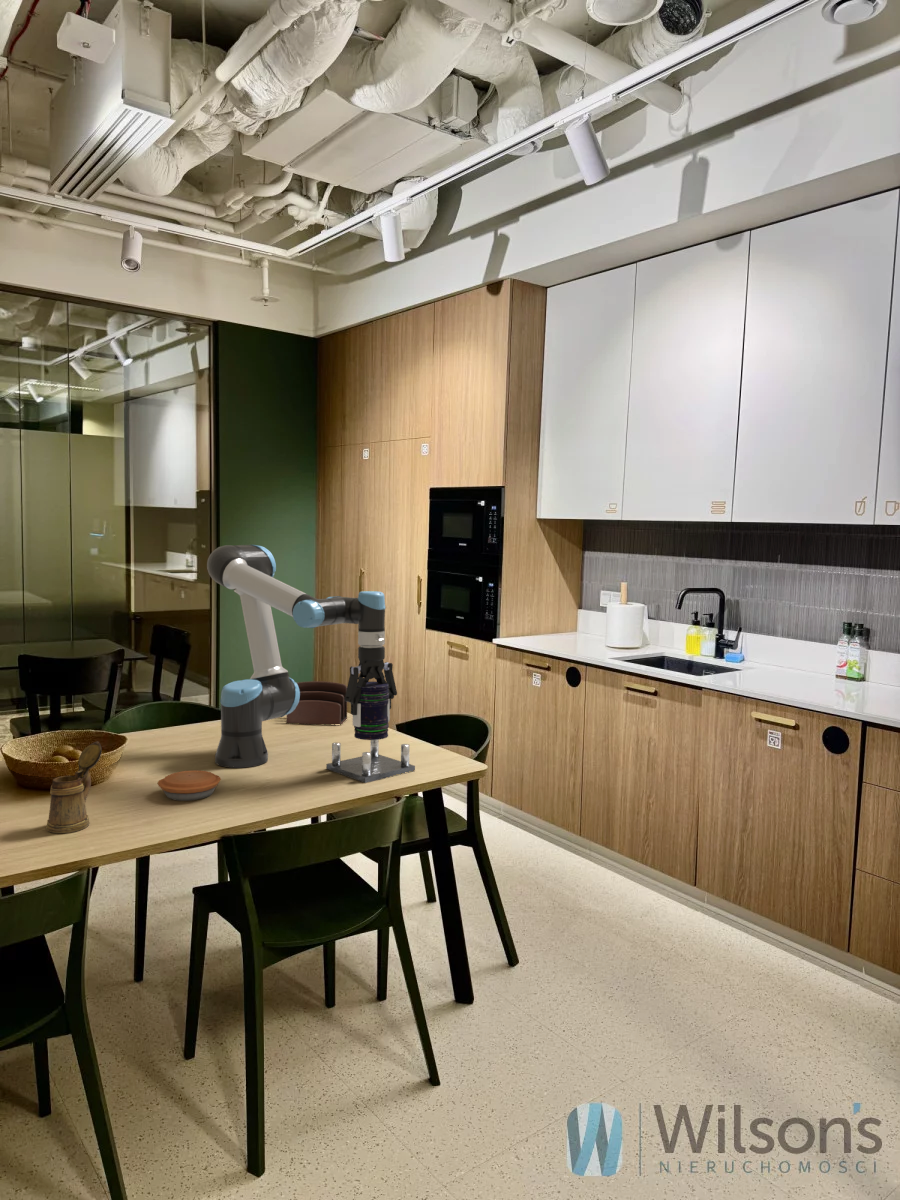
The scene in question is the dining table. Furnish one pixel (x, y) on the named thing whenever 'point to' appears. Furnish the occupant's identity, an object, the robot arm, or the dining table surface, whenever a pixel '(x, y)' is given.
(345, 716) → the letter holder
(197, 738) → the dining table surface
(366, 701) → the storage jar
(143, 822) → the dining table surface
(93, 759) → the wooden mug
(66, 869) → the dining table surface
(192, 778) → the pie
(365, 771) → the post base
